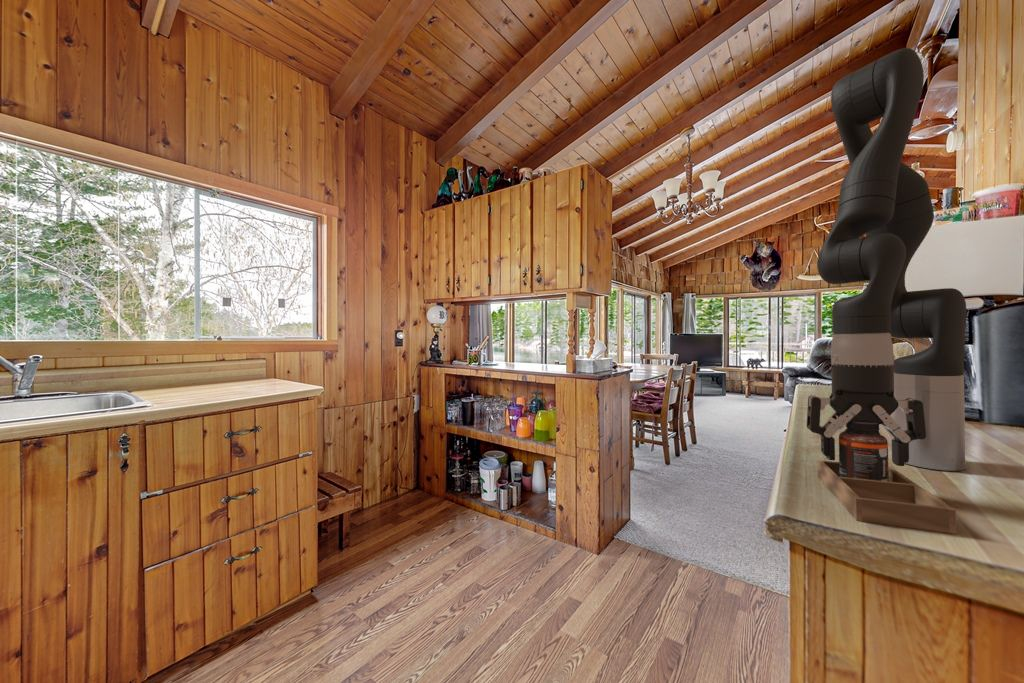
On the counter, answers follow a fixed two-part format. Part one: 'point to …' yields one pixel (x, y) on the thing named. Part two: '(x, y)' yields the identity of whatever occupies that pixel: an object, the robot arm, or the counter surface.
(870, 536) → the counter surface
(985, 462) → the counter surface
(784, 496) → the counter surface
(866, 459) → the supplement bottle
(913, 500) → the caddy
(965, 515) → the counter surface
